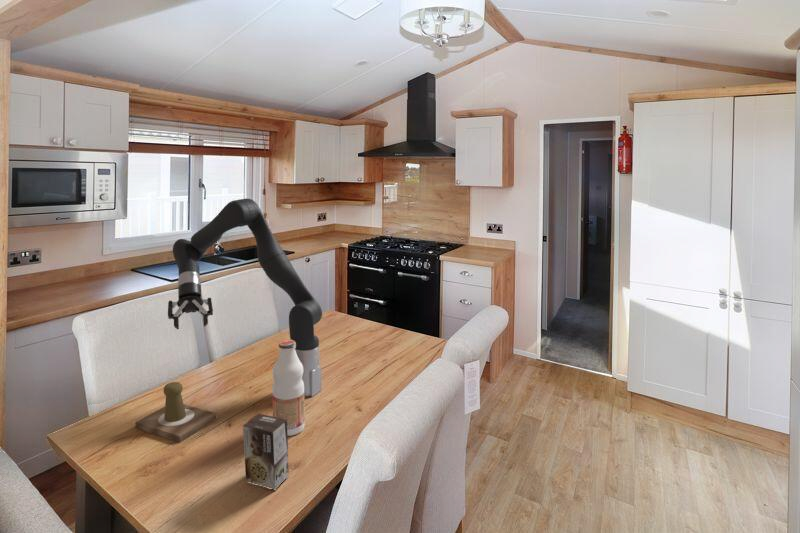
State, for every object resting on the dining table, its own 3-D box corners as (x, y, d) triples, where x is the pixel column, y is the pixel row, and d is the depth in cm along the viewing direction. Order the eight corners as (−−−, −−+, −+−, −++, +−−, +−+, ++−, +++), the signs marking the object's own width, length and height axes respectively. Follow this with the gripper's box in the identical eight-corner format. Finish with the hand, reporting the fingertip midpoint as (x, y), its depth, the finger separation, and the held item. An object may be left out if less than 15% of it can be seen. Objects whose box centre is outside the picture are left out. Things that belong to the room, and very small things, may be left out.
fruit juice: (284, 440, 131) (282, 350, 126) (267, 428, 138) (264, 342, 132) (311, 428, 138) (310, 342, 133) (293, 417, 144) (292, 334, 139)
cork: (189, 412, 141) (187, 380, 139) (178, 422, 135) (176, 389, 133) (171, 411, 142) (169, 378, 140) (159, 421, 136) (157, 387, 134)
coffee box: (289, 476, 116) (288, 419, 113) (275, 492, 110) (273, 432, 107) (260, 467, 119) (258, 412, 116) (244, 482, 113) (241, 424, 110)
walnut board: (216, 419, 142) (216, 412, 142) (180, 442, 129) (179, 435, 129) (174, 407, 148) (173, 400, 148) (135, 428, 136) (135, 421, 135)
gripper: (166, 282, 156) (167, 324, 148) (210, 279, 162) (213, 319, 154) (168, 293, 162) (169, 334, 154) (211, 290, 168) (214, 329, 159)
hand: (191, 326), depth 154 cm, fingers open, 8 cm apart
